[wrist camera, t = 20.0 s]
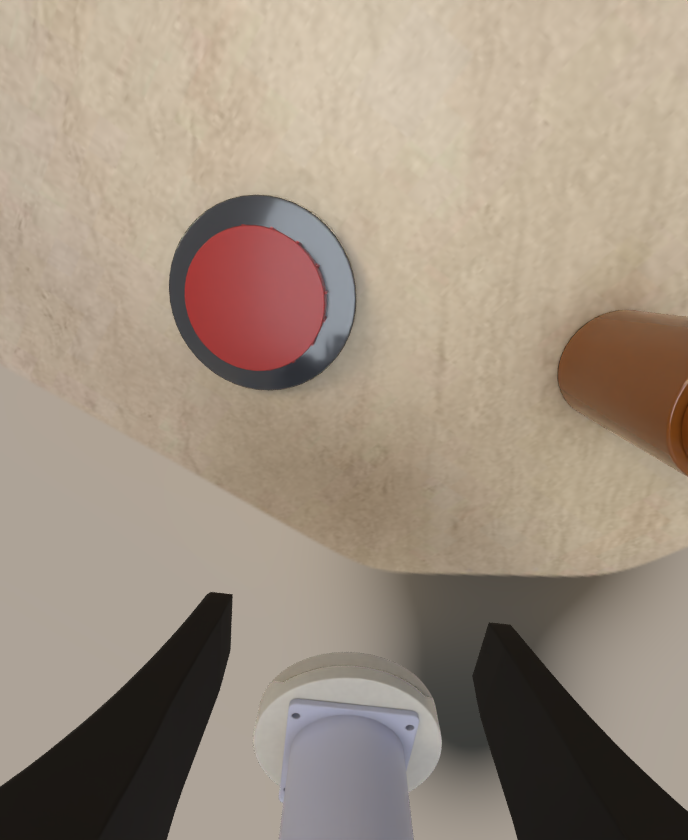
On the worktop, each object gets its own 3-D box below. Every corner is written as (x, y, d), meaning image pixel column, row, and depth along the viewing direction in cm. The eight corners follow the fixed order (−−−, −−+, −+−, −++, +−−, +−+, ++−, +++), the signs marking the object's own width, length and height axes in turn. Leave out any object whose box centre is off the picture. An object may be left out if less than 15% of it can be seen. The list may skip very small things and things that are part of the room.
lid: (263, 197, 16) (254, 188, 15) (354, 307, 17) (354, 310, 16) (170, 292, 17) (153, 294, 16) (262, 388, 19) (253, 398, 17)
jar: (647, 422, 20) (847, 521, 12) (544, 411, 20) (676, 504, 12) (687, 316, 18) (952, 347, 10) (575, 303, 18) (753, 324, 10)
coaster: (344, 397, 19) (344, 400, 19) (175, 376, 19) (170, 379, 19) (367, 210, 17) (368, 208, 16) (172, 184, 17) (166, 181, 16)
